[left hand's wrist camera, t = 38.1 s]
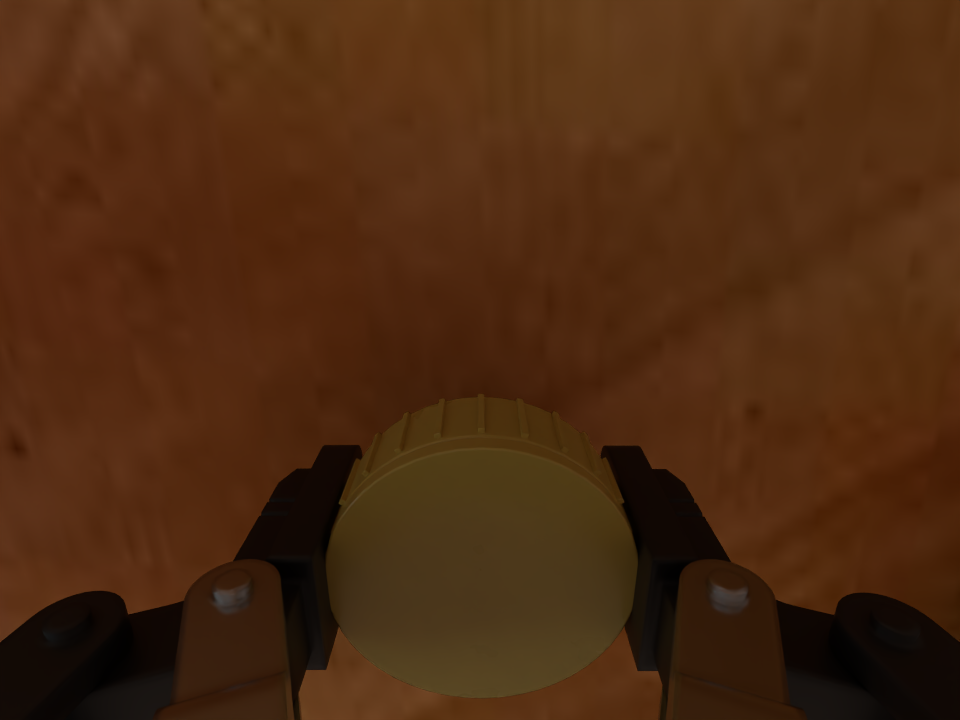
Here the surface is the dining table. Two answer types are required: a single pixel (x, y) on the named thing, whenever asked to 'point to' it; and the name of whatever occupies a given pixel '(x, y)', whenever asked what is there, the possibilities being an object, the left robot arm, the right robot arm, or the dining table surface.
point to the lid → (481, 550)
